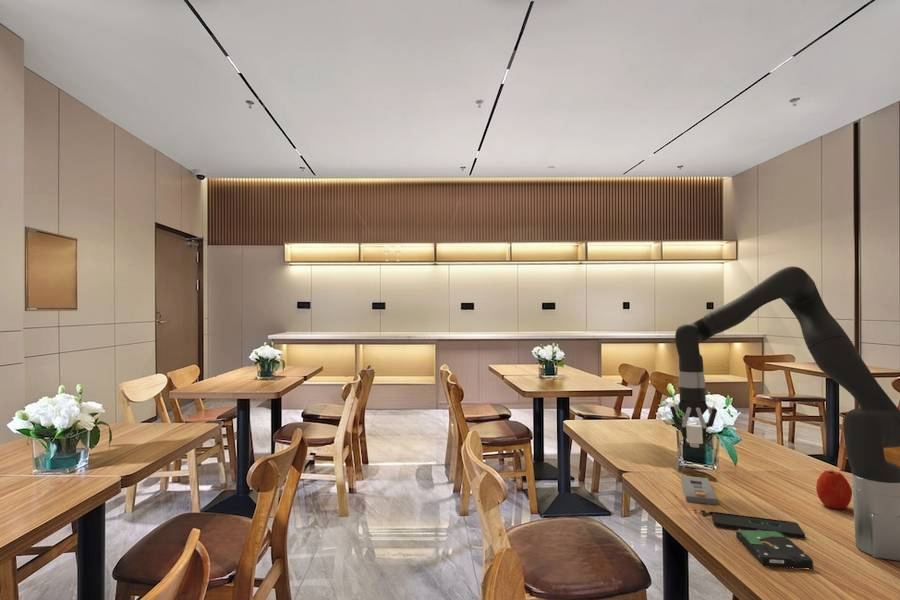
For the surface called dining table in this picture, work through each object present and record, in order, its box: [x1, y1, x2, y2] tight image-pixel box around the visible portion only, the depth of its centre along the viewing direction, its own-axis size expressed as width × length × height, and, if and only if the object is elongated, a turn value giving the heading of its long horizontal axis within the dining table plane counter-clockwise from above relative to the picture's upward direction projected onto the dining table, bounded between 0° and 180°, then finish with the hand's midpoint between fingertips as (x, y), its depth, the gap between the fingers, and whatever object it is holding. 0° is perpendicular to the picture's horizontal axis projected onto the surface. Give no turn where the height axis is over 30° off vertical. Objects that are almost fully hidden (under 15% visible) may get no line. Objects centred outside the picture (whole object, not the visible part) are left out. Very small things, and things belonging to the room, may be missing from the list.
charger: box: [685, 423, 704, 449], centre depth 152 cm, size 4×4×6 cm
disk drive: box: [735, 529, 814, 570], centre depth 112 cm, size 10×3×15 cm
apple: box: [815, 470, 853, 510], centre depth 138 cm, size 8×8×11 cm
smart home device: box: [711, 511, 806, 540], centre depth 126 cm, size 8×2×20 cm
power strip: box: [680, 475, 718, 517], centre depth 145 cm, size 26×8×4 cm, turn 158°
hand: (694, 438), depth 152 cm, fingers closed on charger, 4 cm apart
